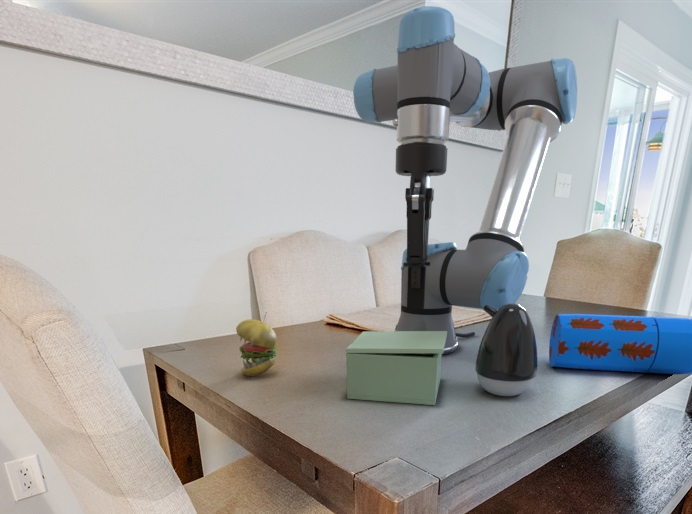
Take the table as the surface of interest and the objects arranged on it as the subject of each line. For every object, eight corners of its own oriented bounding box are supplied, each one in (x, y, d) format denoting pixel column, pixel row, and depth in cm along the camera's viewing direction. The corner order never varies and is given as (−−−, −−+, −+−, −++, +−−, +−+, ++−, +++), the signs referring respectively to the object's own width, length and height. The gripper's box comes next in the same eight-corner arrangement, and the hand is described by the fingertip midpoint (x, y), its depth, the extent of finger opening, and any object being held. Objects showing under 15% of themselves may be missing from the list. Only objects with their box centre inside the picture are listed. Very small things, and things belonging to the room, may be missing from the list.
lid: (447, 335, 82) (447, 330, 82) (443, 353, 71) (443, 348, 70) (363, 335, 85) (363, 331, 85) (346, 353, 74) (345, 348, 74)
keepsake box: (440, 380, 86) (442, 339, 83) (434, 405, 74) (437, 358, 71) (363, 375, 88) (363, 335, 85) (347, 398, 77) (346, 353, 74)
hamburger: (245, 368, 92) (239, 308, 88) (282, 368, 92) (277, 308, 88) (236, 381, 85) (229, 316, 80) (275, 380, 85) (270, 316, 81)
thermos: (555, 373, 90) (696, 382, 86) (563, 319, 86) (711, 325, 82) (546, 358, 100) (672, 365, 96) (553, 309, 96) (685, 314, 92)
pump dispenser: (492, 378, 87) (500, 296, 82) (544, 391, 80) (557, 304, 75) (460, 390, 81) (467, 303, 75) (514, 406, 74) (525, 311, 68)
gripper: (402, 151, 74) (398, 300, 82) (388, 137, 62) (386, 314, 70) (449, 150, 72) (441, 302, 81) (445, 136, 60) (435, 316, 69)
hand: (415, 307), depth 75 cm, fingers closed
